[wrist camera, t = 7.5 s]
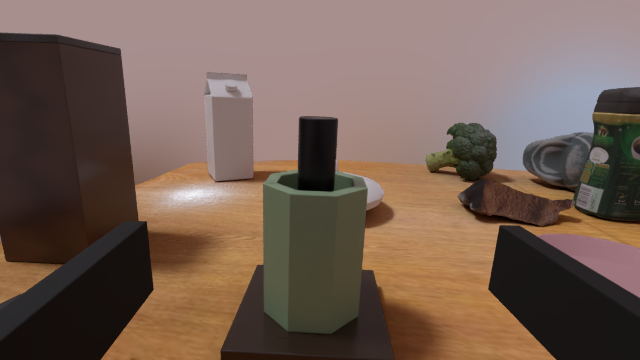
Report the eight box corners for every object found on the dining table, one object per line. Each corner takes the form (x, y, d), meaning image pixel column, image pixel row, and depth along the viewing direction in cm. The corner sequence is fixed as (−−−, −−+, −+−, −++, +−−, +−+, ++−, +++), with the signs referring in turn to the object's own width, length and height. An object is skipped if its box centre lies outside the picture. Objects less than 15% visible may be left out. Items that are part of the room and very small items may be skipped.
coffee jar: (624, 207, 54) (657, 89, 49) (669, 226, 46) (713, 87, 41) (561, 203, 54) (587, 86, 50) (595, 221, 47) (630, 85, 42)
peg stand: (220, 372, 19) (209, 120, 16) (257, 279, 29) (255, 110, 25) (393, 381, 19) (421, 128, 15) (371, 285, 29) (386, 115, 25)
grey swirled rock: (515, 179, 74) (627, 190, 67) (533, 193, 59) (678, 209, 53) (524, 127, 72) (640, 134, 65) (544, 129, 57) (697, 137, 50)
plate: (545, 239, 40) (548, 223, 40) (728, 293, 30) (736, 273, 29) (496, 277, 31) (500, 257, 30) (737, 375, 20) (749, 348, 20)
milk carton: (207, 173, 65) (203, 72, 61) (243, 170, 69) (241, 75, 64) (215, 182, 59) (210, 71, 55) (253, 179, 63) (252, 74, 58)
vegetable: (439, 156, 82) (504, 135, 73) (441, 201, 76) (512, 184, 66) (414, 128, 75) (482, 101, 66) (414, 175, 69) (490, 152, 59)
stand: (5, 261, 30) (-46, 30, 26) (71, 227, 38) (42, 45, 33) (91, 265, 30) (56, 34, 25) (139, 230, 38) (120, 48, 33)
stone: (457, 176, 53) (563, 184, 50) (454, 212, 53) (559, 221, 50) (469, 178, 44) (599, 187, 41) (466, 220, 45) (594, 232, 41)
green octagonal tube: (257, 330, 21) (256, 192, 18) (274, 276, 27) (275, 167, 25) (360, 336, 20) (371, 197, 18) (353, 280, 27) (361, 171, 24)
